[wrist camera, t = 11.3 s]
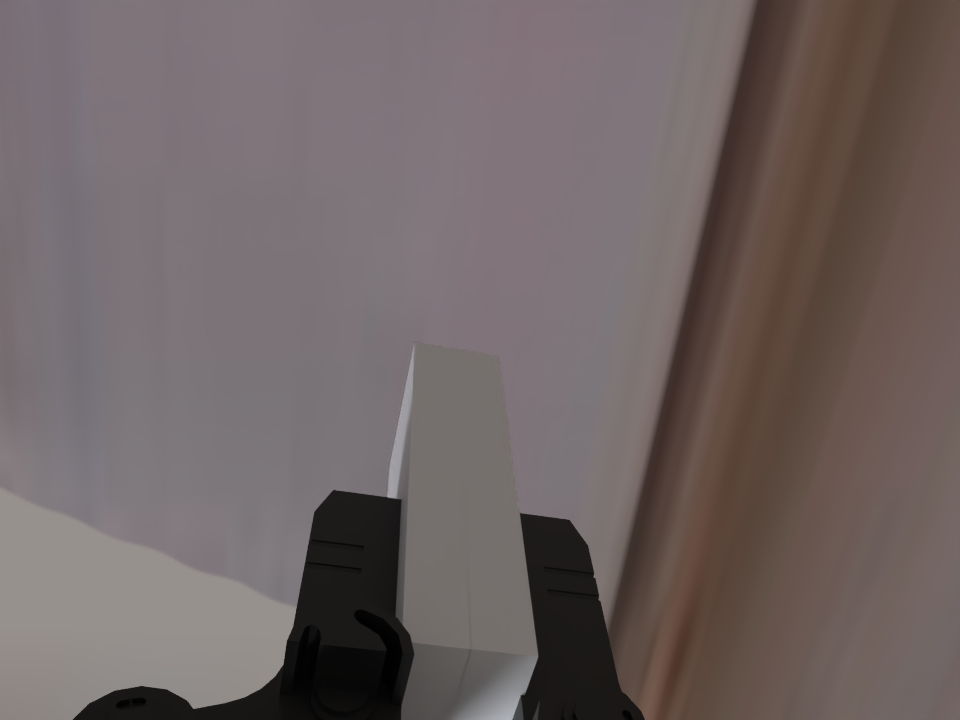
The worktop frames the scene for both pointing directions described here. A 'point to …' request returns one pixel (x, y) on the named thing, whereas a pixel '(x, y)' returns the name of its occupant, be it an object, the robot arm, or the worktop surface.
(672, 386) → the worktop surface
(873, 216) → the worktop surface
